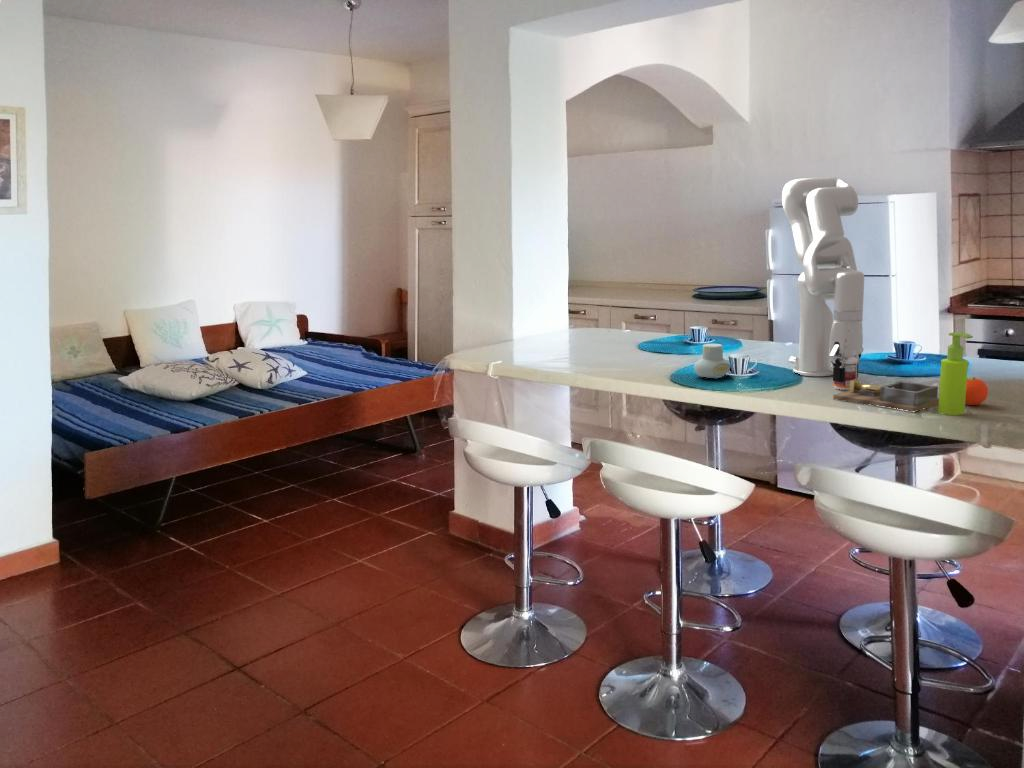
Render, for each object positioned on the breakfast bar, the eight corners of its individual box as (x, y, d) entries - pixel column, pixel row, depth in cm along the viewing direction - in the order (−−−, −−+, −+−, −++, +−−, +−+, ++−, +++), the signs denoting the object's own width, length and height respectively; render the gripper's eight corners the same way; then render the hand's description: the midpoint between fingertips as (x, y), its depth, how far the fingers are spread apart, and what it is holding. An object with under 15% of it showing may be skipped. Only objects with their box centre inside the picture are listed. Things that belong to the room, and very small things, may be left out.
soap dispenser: (956, 417, 218) (961, 335, 214) (932, 411, 224) (937, 332, 220) (973, 414, 220) (979, 333, 216) (949, 408, 227) (954, 330, 222)
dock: (833, 399, 241) (834, 382, 240) (861, 390, 249) (862, 374, 248) (913, 412, 224) (914, 394, 223) (940, 403, 233) (941, 385, 232)
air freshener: (707, 382, 268) (707, 348, 266) (689, 377, 275) (689, 345, 273) (735, 377, 273) (736, 344, 271) (717, 373, 280) (717, 341, 278)
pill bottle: (838, 385, 257) (840, 347, 255) (860, 387, 253) (862, 348, 251) (829, 388, 253) (831, 350, 251) (851, 391, 249) (853, 352, 247)
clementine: (953, 407, 228) (955, 379, 227) (950, 401, 234) (952, 374, 233) (988, 408, 225) (990, 380, 224) (985, 402, 232) (987, 375, 230)
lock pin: (849, 391, 243) (849, 380, 242) (855, 389, 245) (855, 378, 244) (881, 396, 236) (882, 385, 235) (887, 394, 238) (887, 383, 237)
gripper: (852, 311, 257) (849, 373, 261) (818, 318, 246) (816, 382, 250) (877, 313, 251) (874, 376, 255) (843, 320, 241) (840, 386, 244)
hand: (845, 379), depth 253 cm, fingers closed on pill bottle, 6 cm apart
